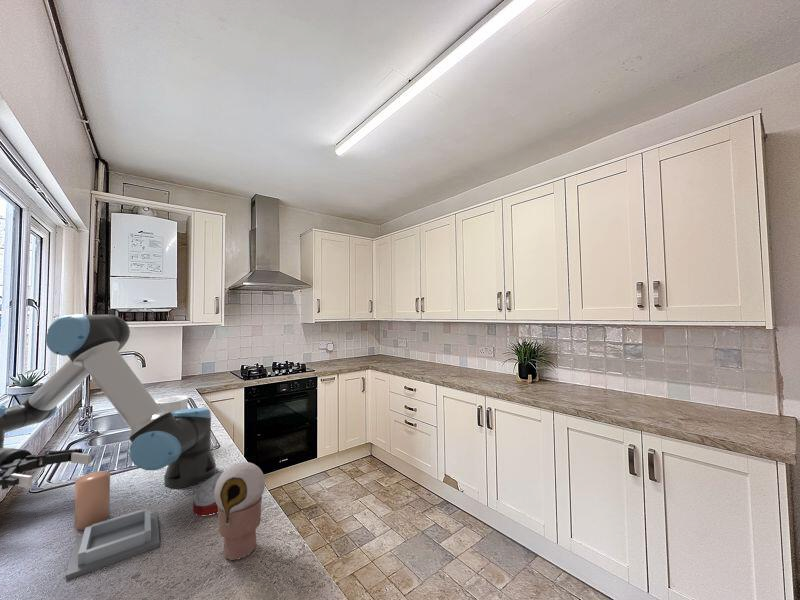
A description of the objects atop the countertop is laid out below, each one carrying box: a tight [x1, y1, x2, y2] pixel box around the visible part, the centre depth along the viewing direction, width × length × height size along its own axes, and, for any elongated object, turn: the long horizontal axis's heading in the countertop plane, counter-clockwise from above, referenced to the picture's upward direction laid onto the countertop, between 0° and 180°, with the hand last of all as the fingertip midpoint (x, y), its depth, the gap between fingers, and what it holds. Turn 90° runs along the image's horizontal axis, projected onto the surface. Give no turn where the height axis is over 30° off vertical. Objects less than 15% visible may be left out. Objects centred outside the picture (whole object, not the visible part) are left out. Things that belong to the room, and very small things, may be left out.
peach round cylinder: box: [73, 470, 111, 531], centre depth 90 cm, size 7×7×12 cm
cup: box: [155, 395, 189, 413], centre depth 136 cm, size 12×12×22 cm
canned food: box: [192, 471, 224, 515], centre depth 96 cm, size 11×10×10 cm
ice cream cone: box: [214, 461, 266, 561], centre depth 78 cm, size 11×11×20 cm
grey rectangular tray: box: [65, 507, 160, 581], centre depth 81 cm, size 16×16×4 cm
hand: (62, 469), depth 93 cm, fingers open, 13 cm apart
